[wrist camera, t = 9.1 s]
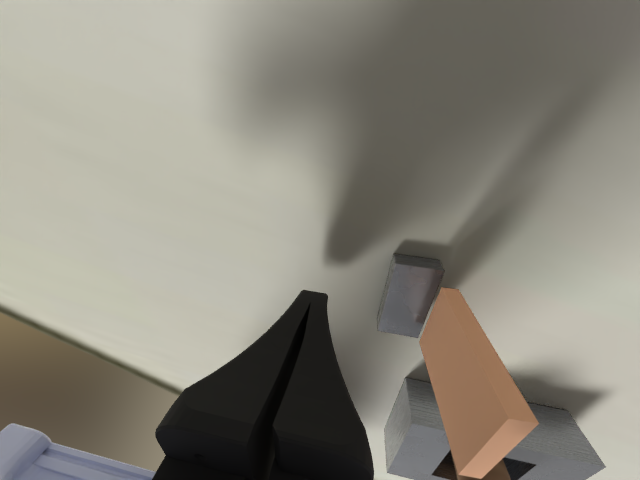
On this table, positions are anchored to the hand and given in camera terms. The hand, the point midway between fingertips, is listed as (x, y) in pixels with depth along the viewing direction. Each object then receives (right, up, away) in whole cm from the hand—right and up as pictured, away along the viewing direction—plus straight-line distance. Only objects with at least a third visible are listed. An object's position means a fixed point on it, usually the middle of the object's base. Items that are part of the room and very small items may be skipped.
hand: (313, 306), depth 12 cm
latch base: (+5, 0, +1) cm, 6 cm away
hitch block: (+12, -11, +6) cm, 17 cm away
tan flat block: (+7, 0, 0) cm, 7 cm away
